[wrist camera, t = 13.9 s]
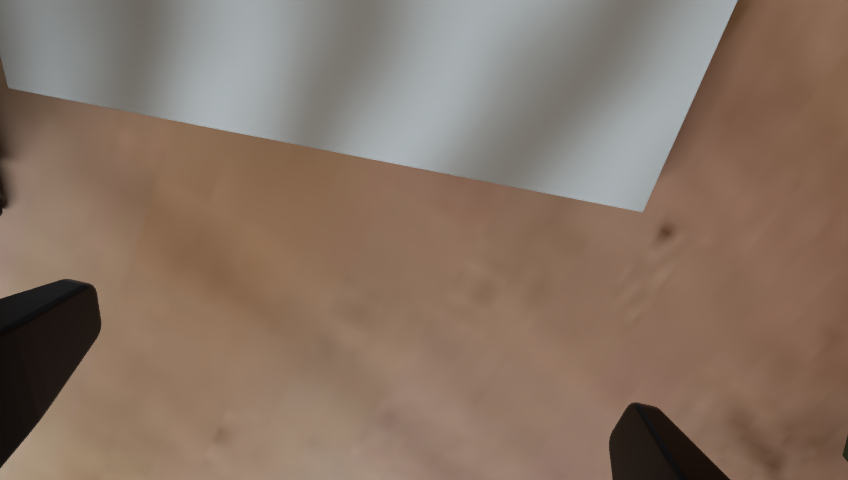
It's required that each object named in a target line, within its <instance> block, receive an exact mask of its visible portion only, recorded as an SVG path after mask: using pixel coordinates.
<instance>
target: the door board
mask: <svg viewBox="0 0 848 480" xmlns="http://www.w3.org/2000/svg"><path fill="white" fill-rule="evenodd" d="M736 3H737V0H0V57H1V61H2V65H3V69H4V73H5V77H6V81H7V85H8V88H10V89H15V90H21V91H26V92H31V93H36V94H41V95H46V96H51V97H56V98H61V99H67V100H72V101H77V102H82V103H87V104H92V105H97V106H102V107H108V108H113V109H118V110H123V111H128V112H133V113H138V114H143V115H148V116H154V117H159V118H164V119H169V120H174V121H179V122H184V123H189V124H194V125H200V126H205V127H210V128H215V129H220V130H225V131H230V132H235V133H241V134H246V135H251V136H256V137H261V138H266V139H271V140H276V141H281V142H287V143H292V144H297V145H302V146H307V147H312V148H317V149H322V150H328V151H333V152H338V153H343V154H348V155H353V156H358V157H363V158H368V159H374V160H379V161H384V162H389V163H394V164H399V165H404V166H409V167H414V168H420V169H425V170H430V171H435V172H440V173H445V174H450V175H455V176H461V177H466V178H471V179H476V180H481V181H486V182H491V183H496V184H501V185H507V186H512V187H517V188H522V189H527V190H532V191H537V192H542V193H548V194H553V195H558V196H563V197H568V198H573V199H578V200H583V201H588V202H594V203H599V204H604V205H609V206H614V207H619V208H624V209H629V210H634V211H640V212H643V210H644V208H645V206H646V204H647V201H648V199H649V197H650V195H651V192H652V190H653V188H654V186H655V184H656V181H657V179H658V177H659V175H660V172H661V170H662V168H663V166H664V163H665V161H666V159H667V157H668V154H669V152H670V150H671V148H672V146H673V143H674V141H675V139H676V137H677V134H678V132H679V130H680V128H681V125H682V123H683V121H684V119H685V117H686V114H687V112H688V110H689V108H690V105H691V103H692V101H693V99H694V96H695V94H696V92H697V90H698V88H699V85H700V83H701V81H702V79H703V76H704V74H705V72H706V70H707V67H708V65H709V63H710V61H711V59H712V56H713V54H714V52H715V50H716V47H717V45H718V43H719V41H720V38H721V36H722V34H723V32H724V29H725V27H726V25H727V23H728V21H729V18H730V16H731V14H732V12H733V9H734V7H735V5H736Z"/></svg>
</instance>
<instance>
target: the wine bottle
mask: <svg viewBox="0 0 848 480" xmlns="http://www.w3.org/2000/svg"><path fill="white" fill-rule="evenodd" d="M843 457H844V458H845V459H846V460H847V462H848V438H847V441H846V445H845V449H844V453H843Z"/></svg>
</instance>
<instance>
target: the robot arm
mask: <svg viewBox="0 0 848 480" xmlns="http://www.w3.org/2000/svg"><path fill="white" fill-rule="evenodd" d="M1 214H2V206H1V203H0V216H1ZM100 329H101V317H100V310H99V304H98V298H97V292H96V289H95V288H94V286H93V285H91V284H89V283H85V282H80V281H76V280H71V279H63V280H59V281H56V282H53V283H50V284H46V285H43V286H40V287H37V288H34V289H30V290H27V291H24V292H21V293H18V294H14V295H11V296H8V297H5V298H1V299H0V468H1V467H2V466H3V464H4V463H5V462H6V461H7V460H8V458H9V457H10V456H11V455H12V454H13V452H14V451H15V450H16V449H17V448H18V447H19V445H20V444H21V443H22V442H23V441H24V439H25V438H26V437H27V436H28V435H29V433H30V432H31V431H32V430H33V428H34V427H35V426H36V425H37V423H38V422H39V421H40V419H41V418H42V417H43V415H44V414H45V413H46V411H47V410H48V409H49V407H50V406H51V404H52V403H53V401H54V400H55V399H56V397H57V396H58V394H59V393H60V391H61V390H62V388H63V387H64V385H65V384H66V382H67V381H68V380H69V378H70V377H71V375H72V374H73V372H74V371H75V369H76V368H77V366H78V365H79V364H80V362H81V361H82V359H83V358H84V356H85V355H86V353H87V352H88V350H89V349H90V347H91V346H92V345H93V343H94V342H95V340H96V339H97V337H98V335H99V333H100ZM609 451H610V460H611V469H612V478H613V480H730V479H729V478H728V477H727V476H726V475H725V474H724V473H723V472H722V471H721V470H720V469H719V468H718V467H717V466H716V465H715V464H714V463H713V462H712V461H711V460H710V459H709V458H708V457H707V456H706V455H705V454H704V453H703V452H702V451H701V450H700V449H699V448H698V447H697V446H696V445H695V444H694V443H693V442H692V441H691V440H690V439H689V438H688V437H687V436H686V435H685V434H684V433H683V432H682V431H681V430H680V429H679V428H678V427H677V426H676V425H675V424H674V423H673V422H672V421H671V420H670V419H669V418H668V417H667V416H666V415H665V414H664V413H663V412H662V411H661V410H660V409H658V408H657V407H654V406H651V405H646V404H641V403H631V404H630V405H628V407H627V408H626V410H625V411H624V413H623V415H622V416H621V418H620V420H619V421H618V423H617V425H616V426H615V428H614V429H613V431H612V433H611V436H610V440H609Z"/></svg>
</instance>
